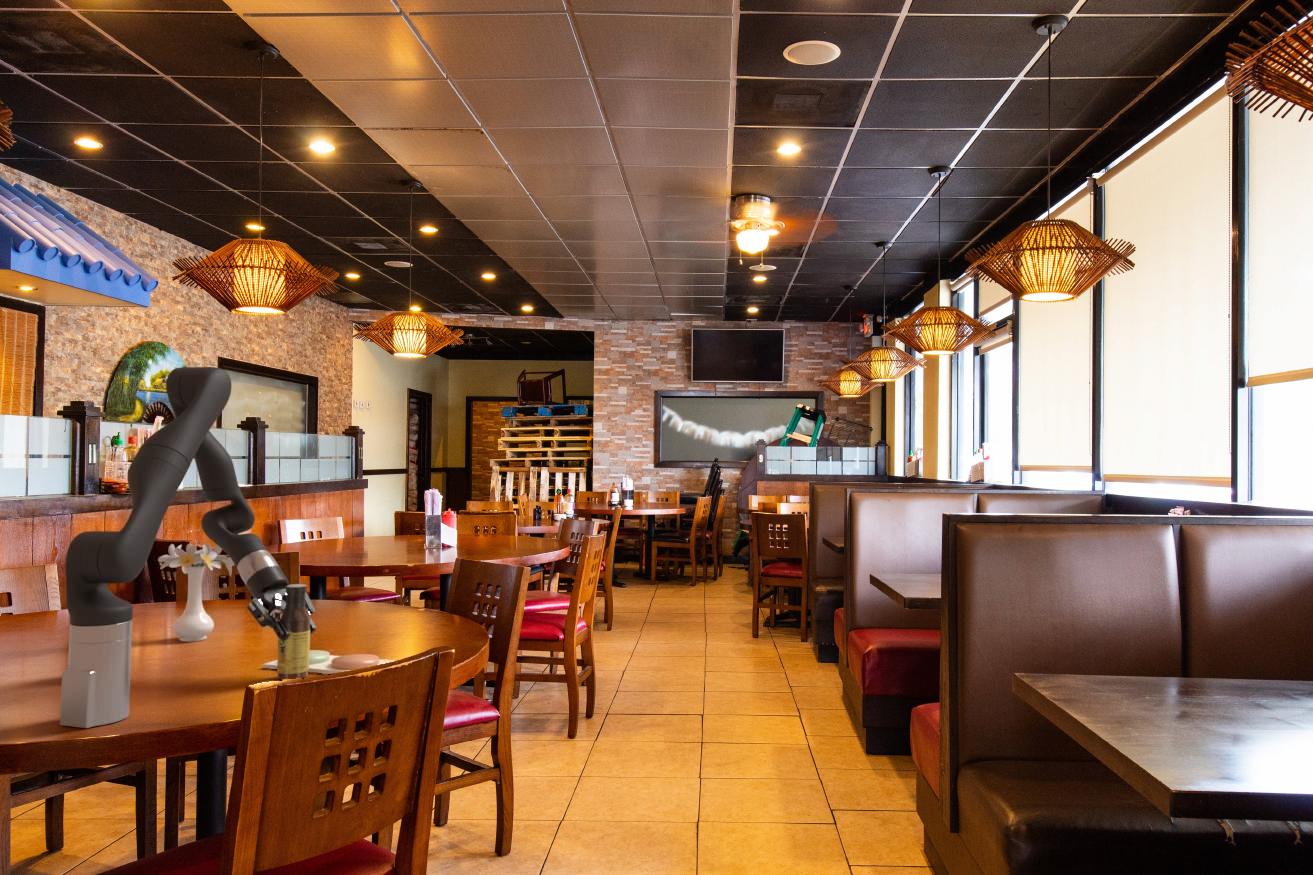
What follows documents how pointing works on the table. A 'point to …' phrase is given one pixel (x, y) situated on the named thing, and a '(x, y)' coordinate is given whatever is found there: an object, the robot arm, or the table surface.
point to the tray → (336, 662)
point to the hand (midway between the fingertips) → (299, 634)
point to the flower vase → (194, 587)
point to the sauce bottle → (295, 635)
